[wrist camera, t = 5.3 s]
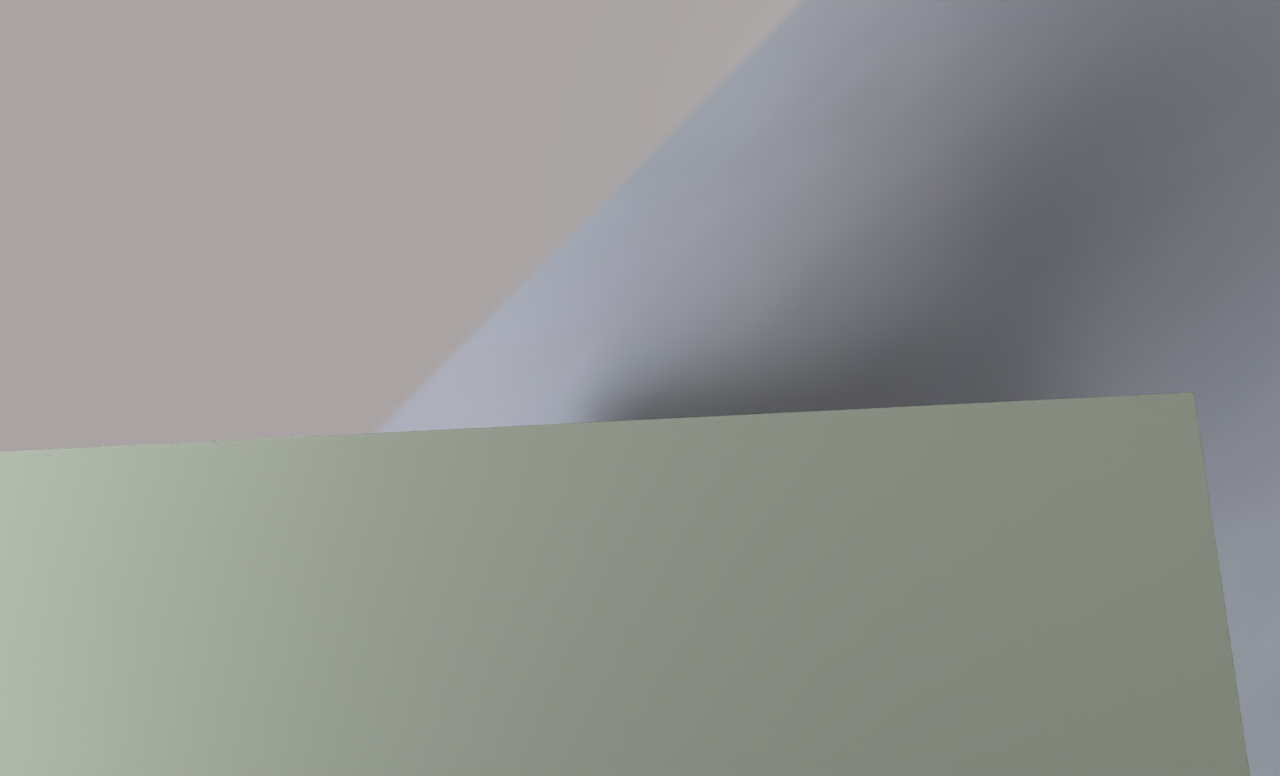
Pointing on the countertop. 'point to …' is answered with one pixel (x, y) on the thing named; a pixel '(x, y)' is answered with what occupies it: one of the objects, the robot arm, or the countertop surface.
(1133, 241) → the countertop surface
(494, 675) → the square plug
